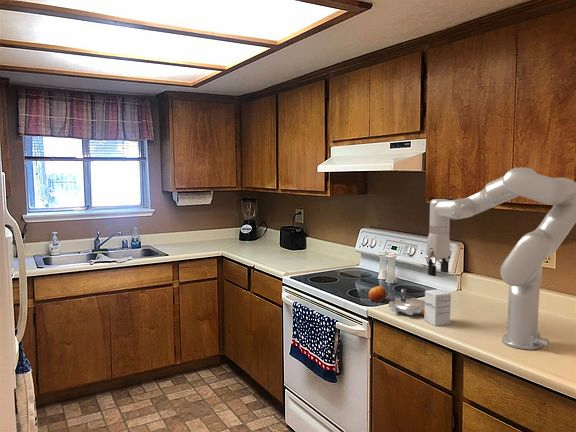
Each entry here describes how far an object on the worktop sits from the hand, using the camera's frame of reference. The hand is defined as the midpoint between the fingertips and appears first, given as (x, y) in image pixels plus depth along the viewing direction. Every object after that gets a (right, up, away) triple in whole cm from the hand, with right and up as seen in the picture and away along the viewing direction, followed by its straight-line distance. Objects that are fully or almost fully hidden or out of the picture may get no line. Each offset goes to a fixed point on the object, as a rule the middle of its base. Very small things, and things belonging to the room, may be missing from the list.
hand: (438, 273), depth 185 cm
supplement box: (0, -20, +2) cm, 20 cm away
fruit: (-18, -17, +34) cm, 42 cm away
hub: (-6, -18, +16) cm, 25 cm away
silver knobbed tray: (-6, -17, +16) cm, 24 cm away
